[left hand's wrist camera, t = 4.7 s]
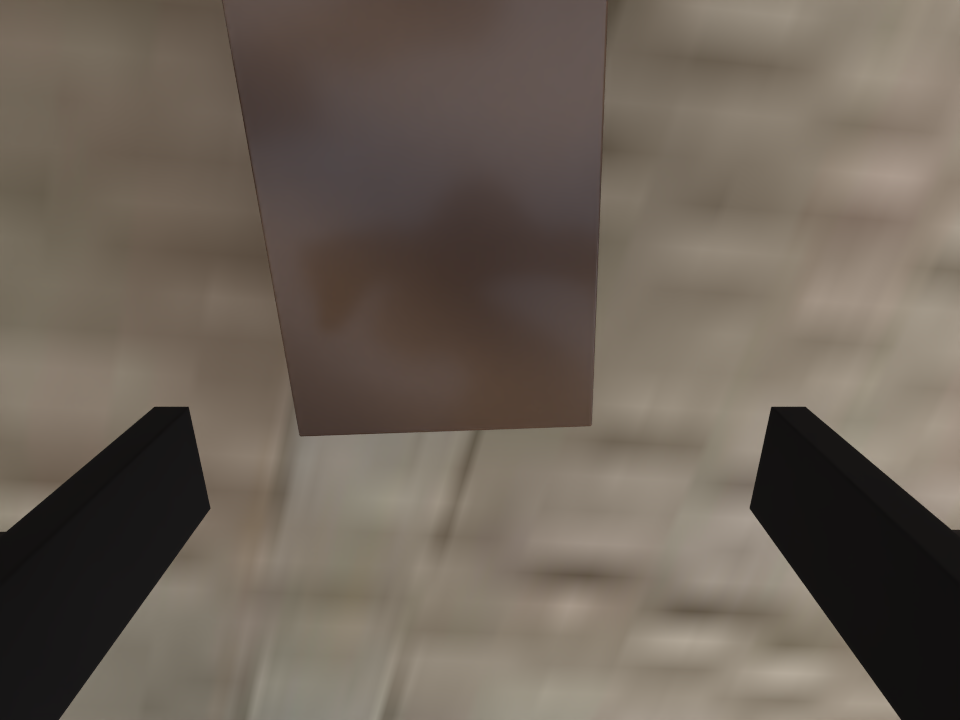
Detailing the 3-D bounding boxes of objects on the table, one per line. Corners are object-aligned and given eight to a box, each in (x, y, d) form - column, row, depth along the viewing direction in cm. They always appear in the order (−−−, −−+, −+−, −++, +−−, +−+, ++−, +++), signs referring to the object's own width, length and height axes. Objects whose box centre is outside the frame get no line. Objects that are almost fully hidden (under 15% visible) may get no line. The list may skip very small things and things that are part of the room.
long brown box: (313, -48, 24) (187, -189, 14) (556, -60, 24) (616, -210, 14) (360, 333, 31) (299, 437, 20) (553, 326, 31) (592, 426, 20)
